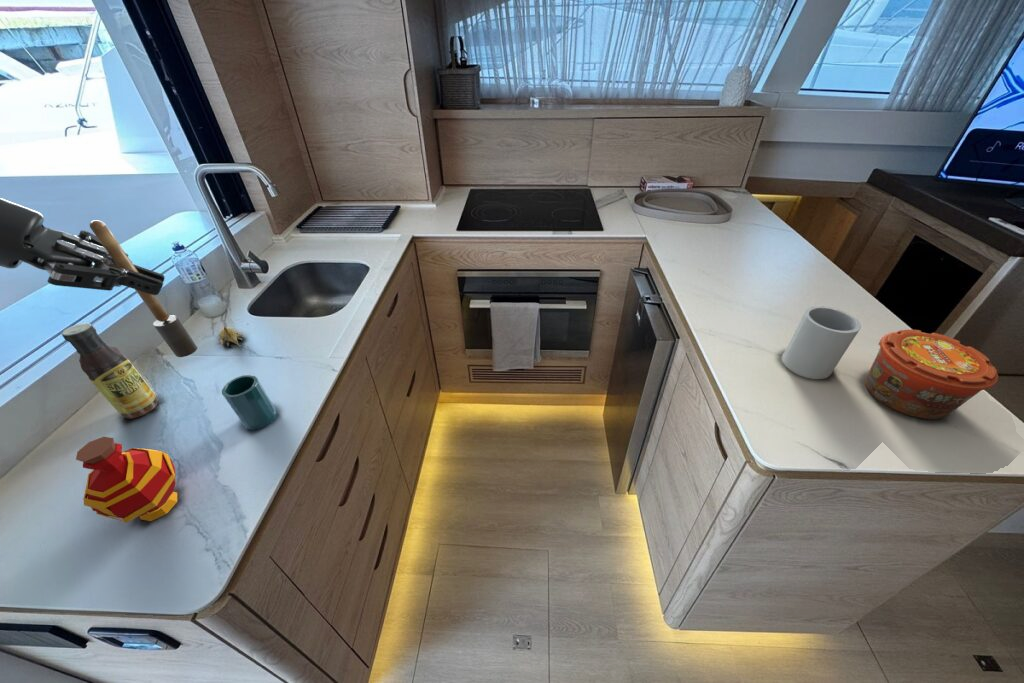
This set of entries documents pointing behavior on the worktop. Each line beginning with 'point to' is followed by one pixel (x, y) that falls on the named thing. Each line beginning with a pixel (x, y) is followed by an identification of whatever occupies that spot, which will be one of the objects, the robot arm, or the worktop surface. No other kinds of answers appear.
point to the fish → (229, 336)
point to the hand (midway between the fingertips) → (161, 285)
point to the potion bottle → (127, 481)
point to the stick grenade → (148, 297)
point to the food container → (927, 374)
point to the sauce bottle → (111, 372)
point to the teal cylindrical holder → (249, 402)
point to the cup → (820, 342)
